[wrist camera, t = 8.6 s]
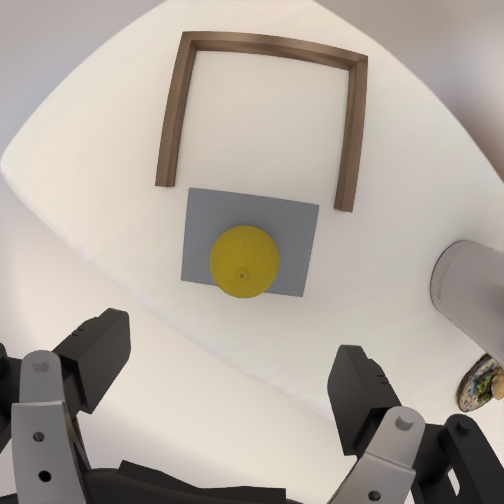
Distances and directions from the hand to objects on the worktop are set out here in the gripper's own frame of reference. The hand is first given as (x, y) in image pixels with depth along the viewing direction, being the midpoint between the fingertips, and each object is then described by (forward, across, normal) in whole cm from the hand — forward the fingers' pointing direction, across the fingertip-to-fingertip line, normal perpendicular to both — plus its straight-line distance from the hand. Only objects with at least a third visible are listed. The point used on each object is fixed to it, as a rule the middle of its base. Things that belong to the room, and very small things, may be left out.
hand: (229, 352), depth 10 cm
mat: (+18, 0, 0) cm, 18 cm away
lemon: (+18, 0, 0) cm, 18 cm away
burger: (+18, -40, +16) cm, 47 cm away
